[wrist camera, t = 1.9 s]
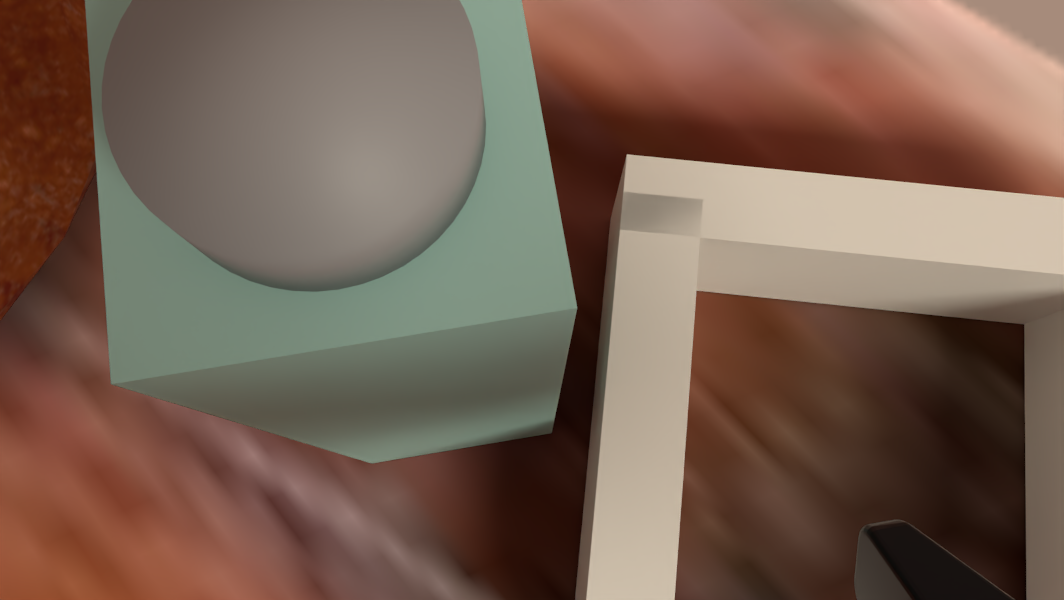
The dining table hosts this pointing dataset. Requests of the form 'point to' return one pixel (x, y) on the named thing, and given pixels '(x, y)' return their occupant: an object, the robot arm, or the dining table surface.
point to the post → (331, 218)
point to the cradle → (810, 276)
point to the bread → (41, 133)
